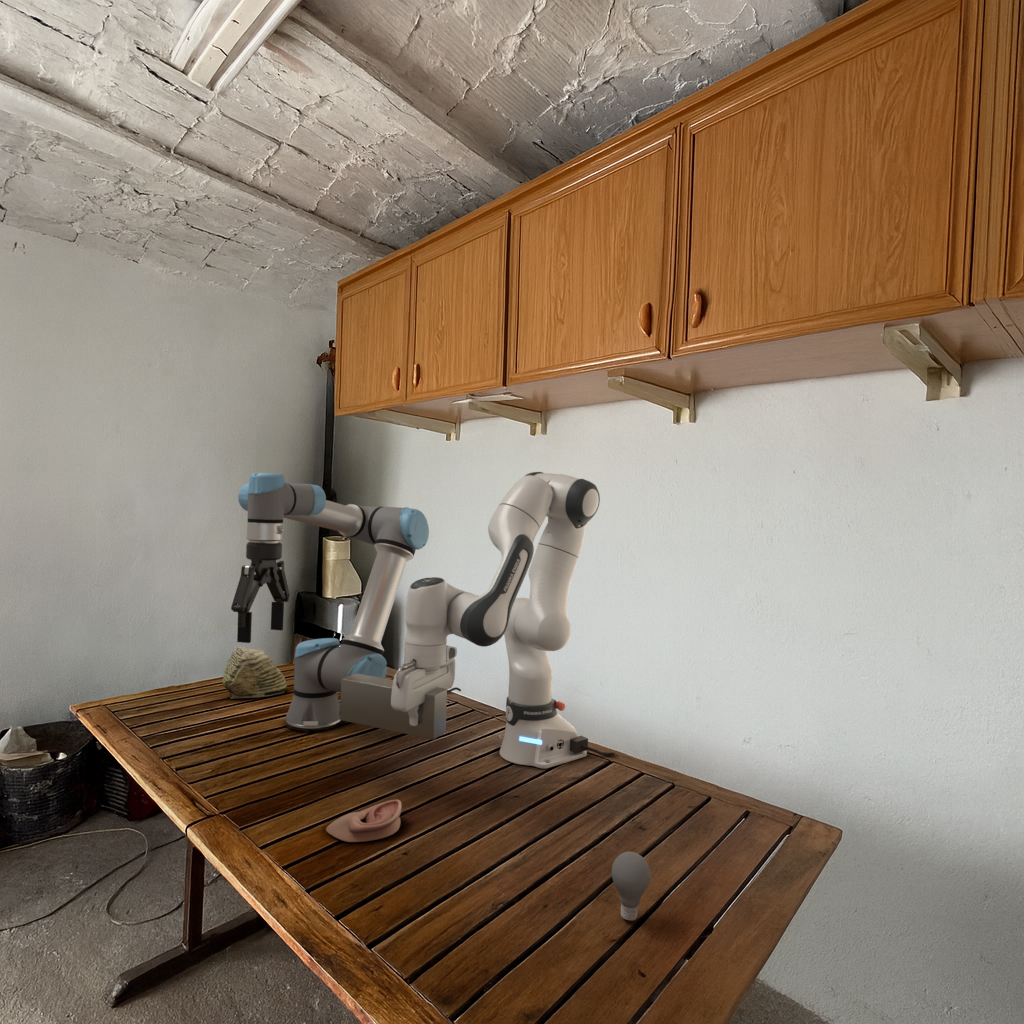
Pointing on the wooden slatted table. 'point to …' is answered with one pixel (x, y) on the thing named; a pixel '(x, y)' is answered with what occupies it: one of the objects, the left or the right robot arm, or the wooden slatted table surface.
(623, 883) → the light bulb
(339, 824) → the anatomical model
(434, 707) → the bar
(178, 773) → the wooden slatted table surface
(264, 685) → the fossil
